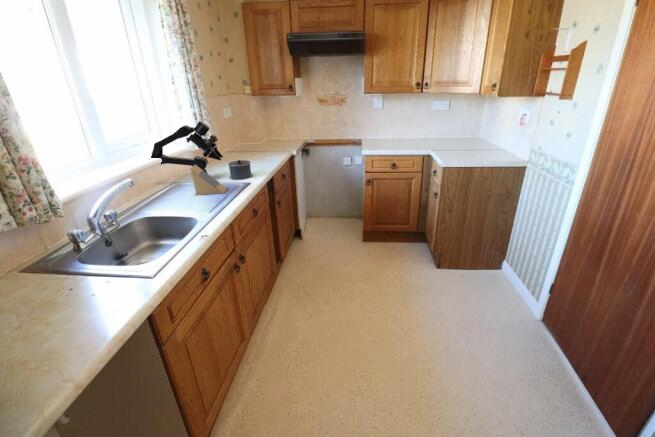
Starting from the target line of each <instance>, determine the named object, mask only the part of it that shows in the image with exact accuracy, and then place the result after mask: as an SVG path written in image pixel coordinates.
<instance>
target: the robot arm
mask: <svg viewBox="0 0 655 437" xmlns="http://www.w3.org/2000/svg"><path fill="white" fill-rule="evenodd" d="M210 129H211V128H210V126H208V125H207V124H206V123H205V122H202V121H198V123H197V124H196V125H195V127H194V126H193V127H192V126H189V125H183V126H181V127H180V128H178V129H177V130H176V131H175V132H174V133H172V134H170V135H168V136H166V137H165V138H163V139H161V140H159V141H156V142H155V143H154V144H153V148H152V152H151V156H150V157H151V158H161V159H162V162H161V164H160V165H167V164H169V165H180V166H190V167H193V166H194V165H197V166H198V167H199V168H200V169H202V170H203V171H204V172H206V173H207V174H208V170H207V169H206V168H207V166H208V165H209V161H208V159H207V158H210V159H214V160H217V161H221V160H222V158H224V156H223V154H222V153H221V152H220V151H219V149H218V144H217V142H218V140H219V139H218V138H217V136H216V135H214V134H211V135H210V136H209V138H208V139H207V138H204V137H205V136H206V134H208V132H209V131H210ZM182 138H185V139H186V143H187V144H189V143H190V142H191V143H192V144H194V145H195V146H197V148H198V149H200V150H202V151H203V153H202V156H199V155H196V156H194V157H193V158H190V157H189V158H188V157H179V156H169V155H166V154H164V151H163V150H164V147H166V146H167V145H169V144H171V143H172V142H174V141H176V140H179V139H182ZM208 175H209V174H208Z"/></svg>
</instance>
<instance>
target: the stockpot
mask: <svg viewBox="0 0 655 437" xmlns="http://www.w3.org/2000/svg"><path fill="white" fill-rule="evenodd" d="M227 166H228V170H229V175H230V179H231V180H245V179H249V178H251V177H252V176H253V175H252V168H251V161H250V160H246V159H241V160H240V159H238V160H232V161H230V162H228V163H227Z"/></svg>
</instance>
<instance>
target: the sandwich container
mask: <svg viewBox="0 0 655 437" xmlns="http://www.w3.org/2000/svg"><path fill="white" fill-rule="evenodd" d="M190 173H191V178H192V182H193V187H194V191H195V195H196V196H201V195H217V194H225V193H226V192H227V189H228V187H227V186H225V185H223V184H222V183H221V182H219V181H218V180H217V179H215V178H213V176H211V175H210V174H207V173H208V172H207V173H206V172H204V171H203V170H202V169H200V168H199V167H198V166H197V165H194V166H191V167H190Z"/></svg>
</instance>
